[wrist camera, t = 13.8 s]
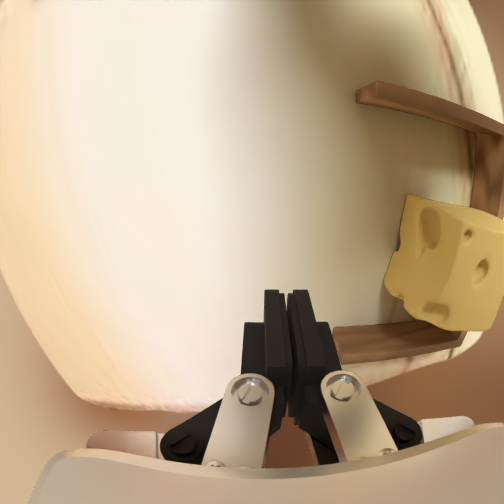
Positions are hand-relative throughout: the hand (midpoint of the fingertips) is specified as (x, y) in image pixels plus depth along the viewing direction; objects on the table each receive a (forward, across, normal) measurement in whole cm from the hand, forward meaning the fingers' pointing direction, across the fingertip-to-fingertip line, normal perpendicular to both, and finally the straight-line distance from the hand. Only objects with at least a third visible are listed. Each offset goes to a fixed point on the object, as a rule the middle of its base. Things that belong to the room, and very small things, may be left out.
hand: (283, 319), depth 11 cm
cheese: (+16, -18, +3) cm, 24 cm away
